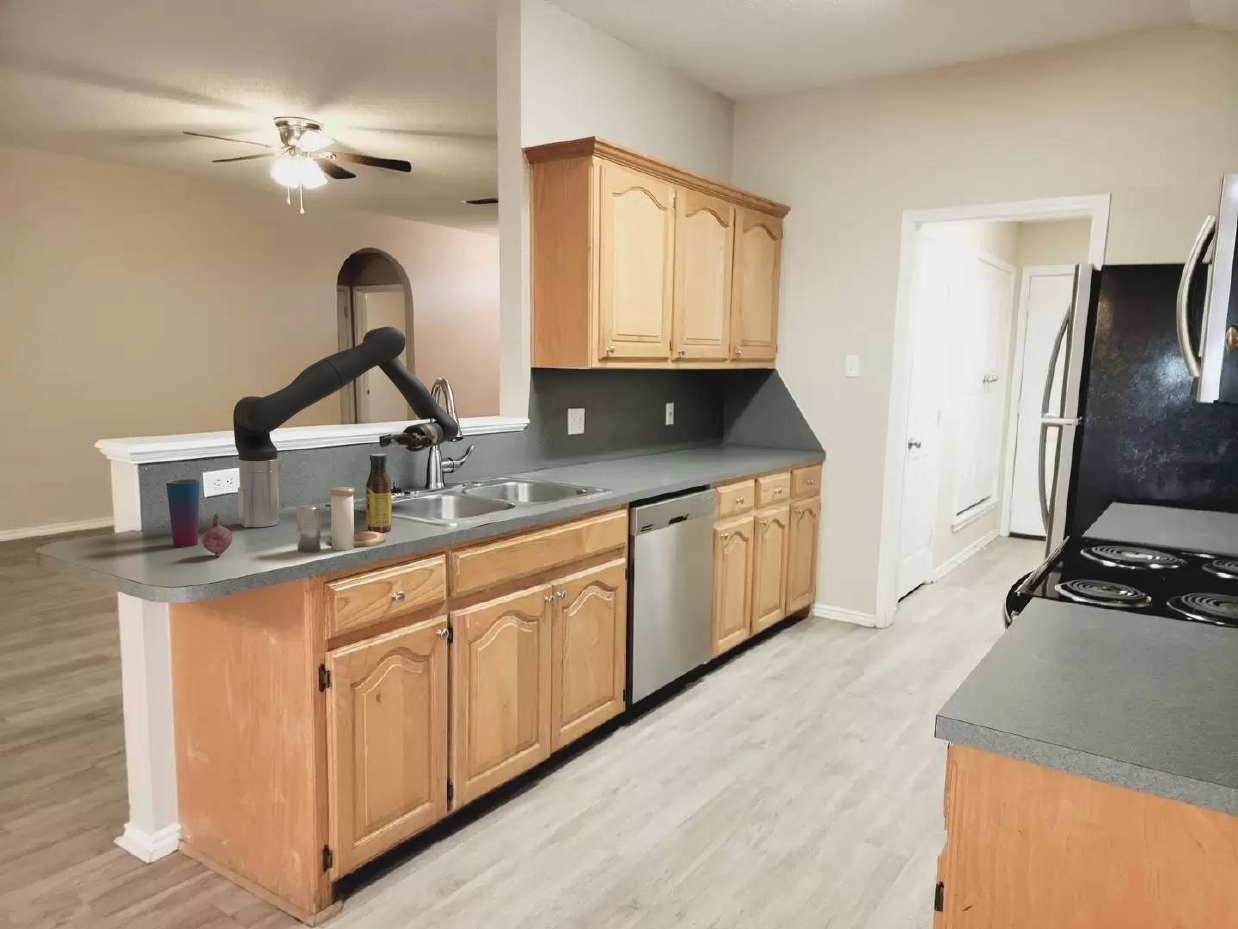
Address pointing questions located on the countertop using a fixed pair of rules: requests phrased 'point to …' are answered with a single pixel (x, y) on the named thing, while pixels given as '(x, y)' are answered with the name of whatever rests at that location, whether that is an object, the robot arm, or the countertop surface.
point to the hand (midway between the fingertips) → (396, 443)
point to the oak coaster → (366, 538)
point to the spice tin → (308, 528)
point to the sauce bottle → (378, 496)
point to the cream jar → (342, 518)
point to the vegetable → (217, 537)
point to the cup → (184, 510)
